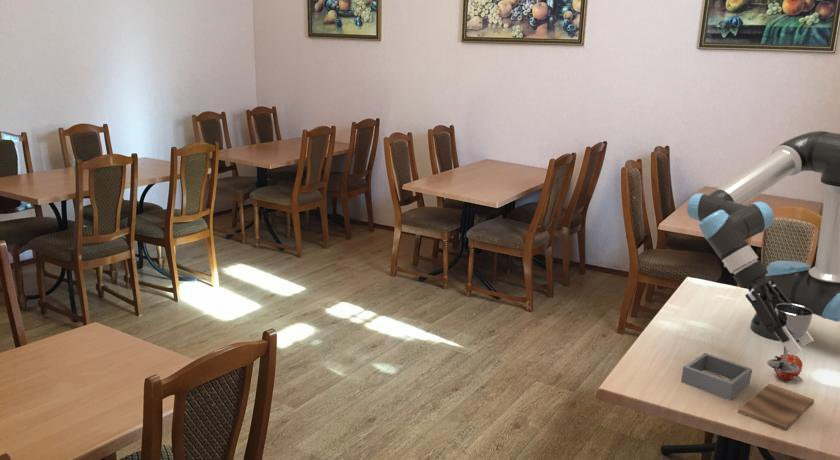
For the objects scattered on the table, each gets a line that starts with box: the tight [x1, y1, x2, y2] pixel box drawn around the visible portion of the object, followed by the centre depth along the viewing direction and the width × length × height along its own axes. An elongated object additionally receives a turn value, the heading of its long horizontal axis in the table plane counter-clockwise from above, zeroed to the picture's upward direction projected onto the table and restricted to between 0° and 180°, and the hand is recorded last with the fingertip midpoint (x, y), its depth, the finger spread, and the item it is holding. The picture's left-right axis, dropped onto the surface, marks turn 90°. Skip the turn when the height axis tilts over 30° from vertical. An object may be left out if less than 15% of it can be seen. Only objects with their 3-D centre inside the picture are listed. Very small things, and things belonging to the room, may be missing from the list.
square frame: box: [680, 352, 753, 401], centre depth 187 cm, size 13×13×4 cm
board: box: [737, 383, 815, 431], centre depth 176 cm, size 20×11×1 cm, turn 134°
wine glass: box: [766, 303, 814, 373], centre depth 171 cm, size 8×8×15 cm
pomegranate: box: [773, 353, 803, 382], centre depth 191 cm, size 7×7×10 cm
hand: (802, 347), depth 169 cm, fingers closed on wine glass, 8 cm apart
